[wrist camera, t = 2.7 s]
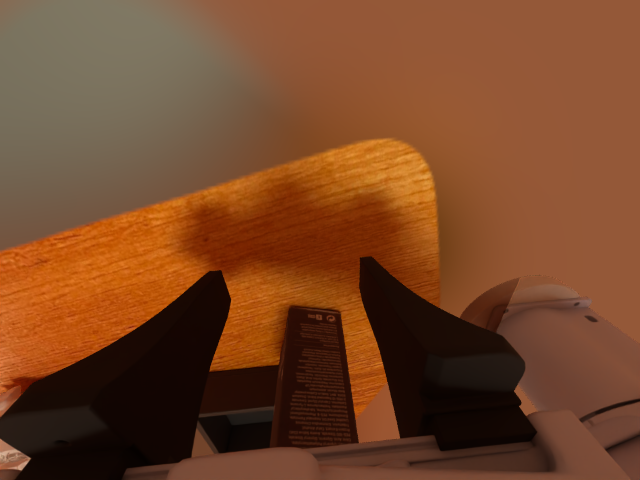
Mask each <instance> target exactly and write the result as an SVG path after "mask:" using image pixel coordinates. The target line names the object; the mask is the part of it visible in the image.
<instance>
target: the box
mask: <svg viewBox="0 0 640 480" xmlns="http://www.w3.org/2000/svg"><path fill="white" fill-rule="evenodd" d="M355 443H359V442H358V435H357V428H356V420H355V413H354V407H353V399H352V392H351V384H350V378H349V372H348V363H347V356H346V349H345V342H344V334H343V328H342V320H341V314H340V313H338V312H334V311H331V310H320V309H309V308H297V307H294V308H293V307H291V308H290V309H289V313H288V319H287V325H286V330H285V336H284V341H283V345H282V349H281V353H280V362H279V370H278V378H277V387H276V396H275V405H274V414H273V421H272V432H271V440H270V448H276V447H296V448H300V449H310V448H319V447H328V446H337V445H346V444H355Z"/></svg>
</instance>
